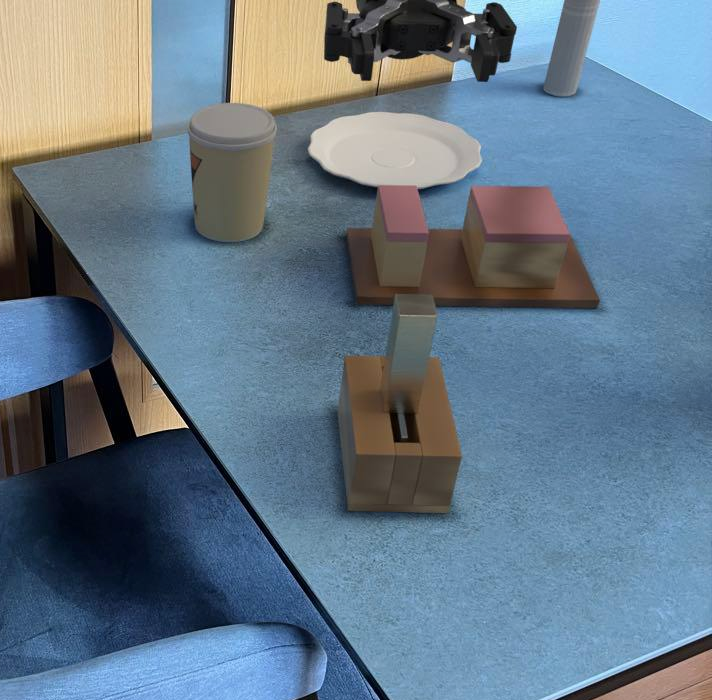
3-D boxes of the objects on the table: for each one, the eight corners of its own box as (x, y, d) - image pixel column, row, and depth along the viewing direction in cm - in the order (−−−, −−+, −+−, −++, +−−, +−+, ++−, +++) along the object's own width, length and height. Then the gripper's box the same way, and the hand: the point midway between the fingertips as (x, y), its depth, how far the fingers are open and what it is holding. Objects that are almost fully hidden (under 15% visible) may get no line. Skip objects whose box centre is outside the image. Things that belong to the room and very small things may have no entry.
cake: (566, 238, 113) (583, 177, 108) (597, 308, 103) (617, 245, 98) (346, 236, 114) (353, 175, 109) (356, 304, 104) (364, 241, 99)
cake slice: (408, 237, 112) (416, 185, 107) (419, 287, 104) (429, 232, 100) (371, 237, 112) (378, 184, 107) (379, 286, 105) (387, 232, 100)
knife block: (427, 413, 92) (439, 356, 87) (448, 513, 82) (462, 456, 78) (337, 411, 92) (344, 355, 88) (347, 511, 83) (356, 453, 78)
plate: (481, 206, 118) (484, 192, 117) (300, 193, 121) (301, 179, 120) (476, 129, 133) (479, 116, 132) (314, 119, 136) (315, 107, 135)
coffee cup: (201, 201, 120) (202, 97, 112) (279, 212, 118) (286, 106, 110) (177, 239, 114) (176, 132, 105) (259, 251, 112) (264, 143, 103)
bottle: (582, 92, 141) (626, -72, 127) (558, 99, 139) (600, -67, 125) (559, 82, 144) (600, -81, 129) (536, 88, 142) (574, -76, 128)
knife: (401, 416, 90) (427, 273, 80) (413, 485, 83) (443, 339, 73) (369, 415, 90) (391, 272, 80) (378, 484, 83) (403, 338, 73)
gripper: (322, -56, 84) (334, 13, 73) (498, -56, 84) (538, 13, 72) (314, 41, 90) (324, 118, 78) (479, 41, 89) (514, 120, 77)
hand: (427, 68), depth 75 cm, fingers open, 8 cm apart
